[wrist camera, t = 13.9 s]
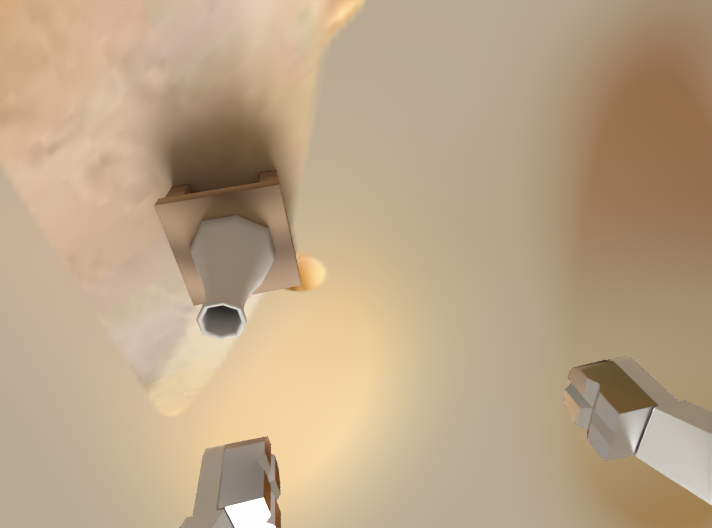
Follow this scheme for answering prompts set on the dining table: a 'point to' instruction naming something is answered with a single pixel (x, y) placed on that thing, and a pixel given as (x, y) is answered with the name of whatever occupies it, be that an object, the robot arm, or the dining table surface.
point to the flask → (229, 271)
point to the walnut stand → (248, 201)
